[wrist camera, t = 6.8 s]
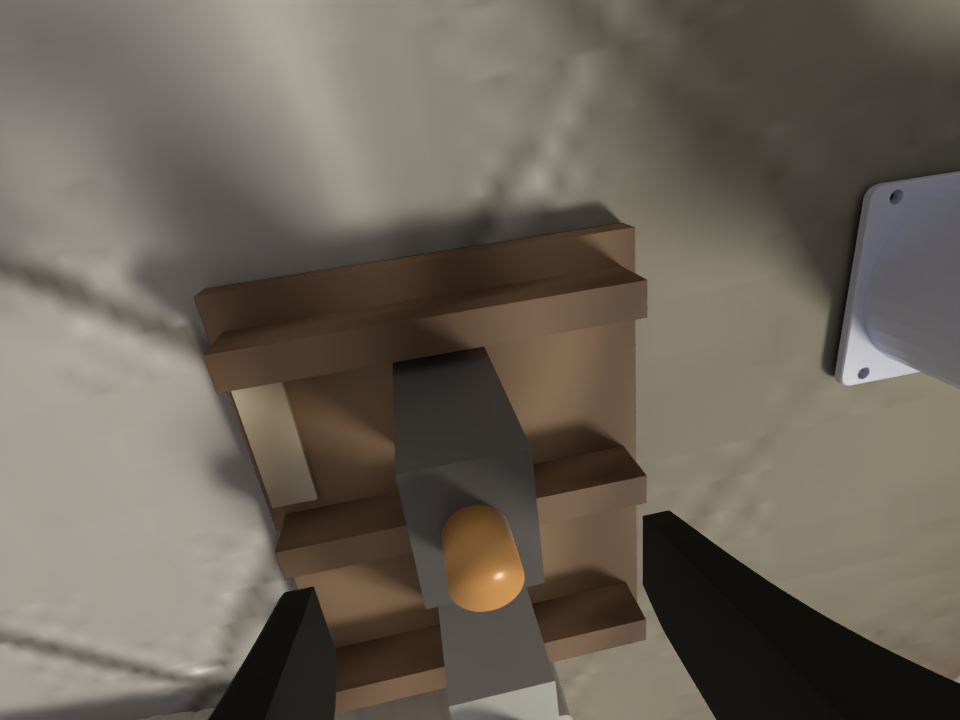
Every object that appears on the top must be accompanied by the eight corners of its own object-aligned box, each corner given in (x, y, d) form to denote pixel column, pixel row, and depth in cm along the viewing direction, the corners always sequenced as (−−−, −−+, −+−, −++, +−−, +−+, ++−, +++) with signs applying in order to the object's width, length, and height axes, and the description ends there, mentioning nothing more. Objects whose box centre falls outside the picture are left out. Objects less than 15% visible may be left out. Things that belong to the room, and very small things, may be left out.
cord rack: (622, 222, 18) (663, 237, 16) (628, 600, 25) (656, 656, 23) (204, 288, 17) (168, 317, 14) (335, 668, 24) (328, 736, 21)
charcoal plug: (480, 338, 18) (550, 489, 10) (493, 438, 20) (563, 634, 12) (392, 353, 18) (395, 521, 10) (413, 453, 19) (430, 665, 12)
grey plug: (504, 516, 21) (572, 736, 13) (514, 590, 23) (580, 824, 15) (430, 532, 21) (455, 766, 13) (445, 605, 22) (475, 852, 15)
